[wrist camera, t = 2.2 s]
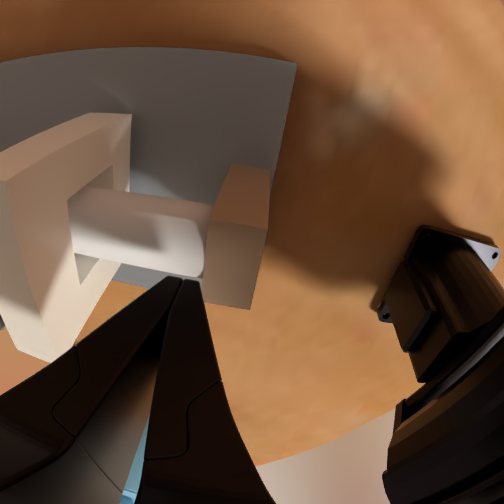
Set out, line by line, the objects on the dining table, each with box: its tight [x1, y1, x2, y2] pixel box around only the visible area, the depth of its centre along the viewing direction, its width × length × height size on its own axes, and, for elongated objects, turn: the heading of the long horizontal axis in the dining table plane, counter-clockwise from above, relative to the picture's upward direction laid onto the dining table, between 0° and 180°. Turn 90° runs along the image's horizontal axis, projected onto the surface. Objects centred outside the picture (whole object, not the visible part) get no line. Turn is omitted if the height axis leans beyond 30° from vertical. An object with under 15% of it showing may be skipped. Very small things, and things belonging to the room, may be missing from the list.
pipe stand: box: [0, 47, 298, 310], centre depth 12 cm, size 22×12×6 cm, turn 81°
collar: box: [0, 112, 132, 363], centre depth 10 cm, size 2×6×7 cm, turn 171°
